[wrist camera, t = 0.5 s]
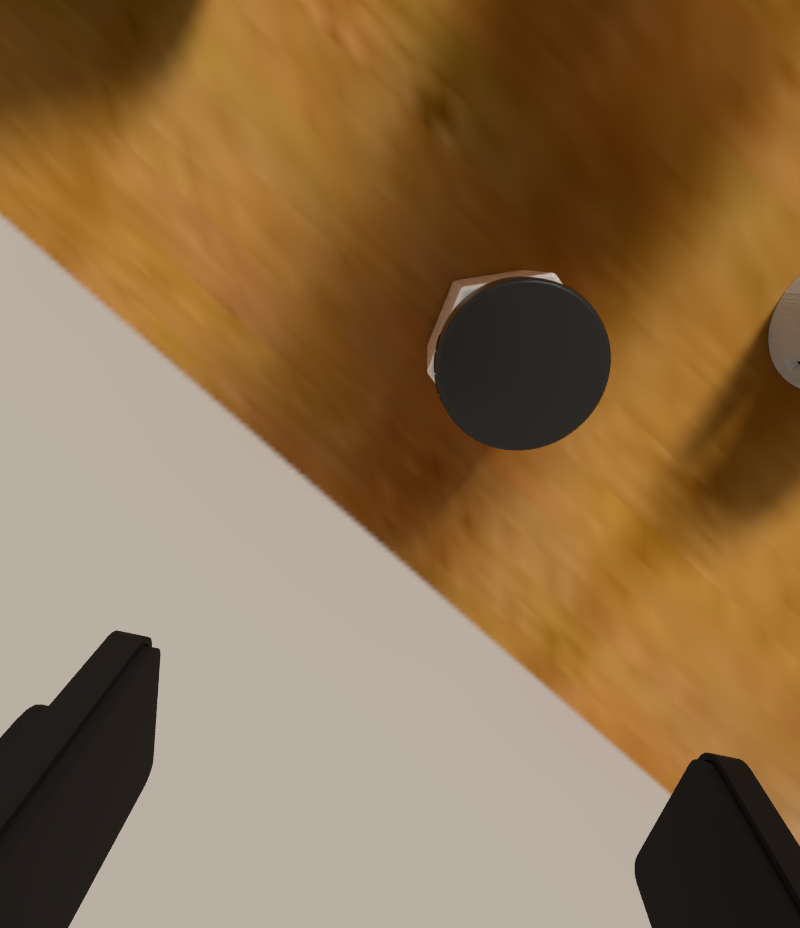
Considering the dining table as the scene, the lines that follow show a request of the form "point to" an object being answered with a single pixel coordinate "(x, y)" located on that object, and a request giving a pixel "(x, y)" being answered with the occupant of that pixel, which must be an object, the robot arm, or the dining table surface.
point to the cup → (786, 335)
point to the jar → (518, 358)
